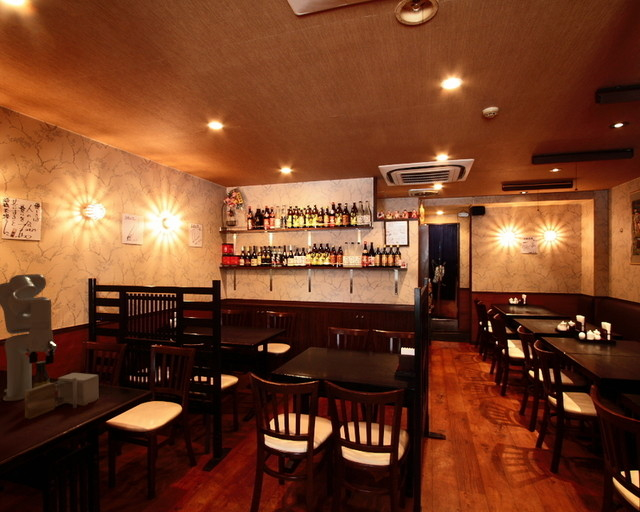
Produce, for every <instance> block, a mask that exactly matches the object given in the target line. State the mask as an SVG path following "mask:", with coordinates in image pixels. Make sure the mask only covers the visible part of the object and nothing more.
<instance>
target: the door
mask: <svg viewBox="0 0 640 512" xmlns="http://www.w3.org/2000/svg"><path fill="white" fill-rule="evenodd" d="M62 388H65V382H59V381H58V380H57V381H55V382H50V383H47V384H44V385H41V386H38V387H35V388H34V387H32V389H30V390H27V391H25V399H24V419H26V418H27V420H32V419H33V418H36V417H39V416H41V415H43V414H46V413H48V412H50V411H53V410H54V409H56V407H59V406H60V405H63V404H66V403H65V398H63V397H58V396H57V397H55V396H56V394H55V393H56V392H57V391H58V390H59V389H62Z"/></svg>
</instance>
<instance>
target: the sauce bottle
mask: <svg viewBox="0 0 640 512" xmlns="http://www.w3.org/2000/svg"><path fill="white" fill-rule="evenodd" d="M35 369H36V372H35V374H34V375H33V382H32V384H33V385H32V388H35V387H38V386H41V385H44V384H47V383H51V382H50V375H49V373H48V371H47V365H46V360H42V361H37V362H35Z"/></svg>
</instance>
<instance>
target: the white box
mask: <svg viewBox="0 0 640 512" xmlns="http://www.w3.org/2000/svg"><path fill="white" fill-rule="evenodd" d="M99 377H100V376H99V374H91V373H81V372H71V373H69V374H65V375H63V376H60V377H58V378H57V382H58V381H59V382H65V388H62V389H59V390H57V394H58V395H57V397H63V398H65V403H64V404H68V403H69V404H70V405H72V409H77V408H78V406H87V405H88V403H89V404H90V402H91V403H93V402H96V401H98V400H99V398H100V397H99ZM97 399H98V400H97ZM77 404H78V405H77Z"/></svg>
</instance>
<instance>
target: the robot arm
mask: <svg viewBox="0 0 640 512" xmlns="http://www.w3.org/2000/svg"><path fill="white" fill-rule="evenodd" d="M46 286H47V280H46V278H45V276H44V275H43V274H39V273H38V274H37V273H35V274H34V273H33V274H32V273H31V274H17V275H14V276H12V277H11V278H10V279H9V281H7V282H3V283H0V307H1V308H2V311H3V317H4V323H5V329H6V331H7V333H8V334H11V335H12V336H9V337H8V338H6V340H5V342H4V348H5V353H6V361H7V362H6V363H7V364H6V367H7V369H6V375H7V378H6V379H7V381H6V382H7V388H5V389H4V391H3V392H4V393H6V395H4V396H3V398H2V399H3V401H4V402H15V401H20V400H25V391H27V390H30V389H32V388H33V385H32V384H33V379H32V377H33V375H32V374H33V371H32V367H33V366H32V365H33V364H34V363H36V362H38V352H39V353H43V352H44V353H45V361H46V366H47V365H48V366H49V365H50V364H53V363H54V360H55V359H54V356H55V353H56V351H57V348H58V345H57V344H56V343H55V342H54V334H53V333H54V332H53V329H52V300H51V299H50V298H48V297H46V296H39V295H40V293H42V292H43V291H44V290H45V289H46ZM37 296H38V297H37ZM15 334H16V335H15Z"/></svg>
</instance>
